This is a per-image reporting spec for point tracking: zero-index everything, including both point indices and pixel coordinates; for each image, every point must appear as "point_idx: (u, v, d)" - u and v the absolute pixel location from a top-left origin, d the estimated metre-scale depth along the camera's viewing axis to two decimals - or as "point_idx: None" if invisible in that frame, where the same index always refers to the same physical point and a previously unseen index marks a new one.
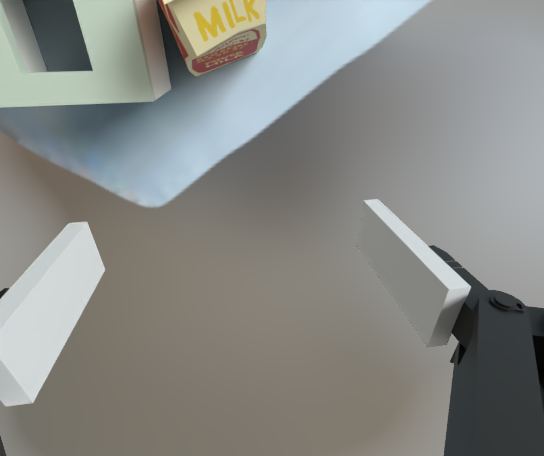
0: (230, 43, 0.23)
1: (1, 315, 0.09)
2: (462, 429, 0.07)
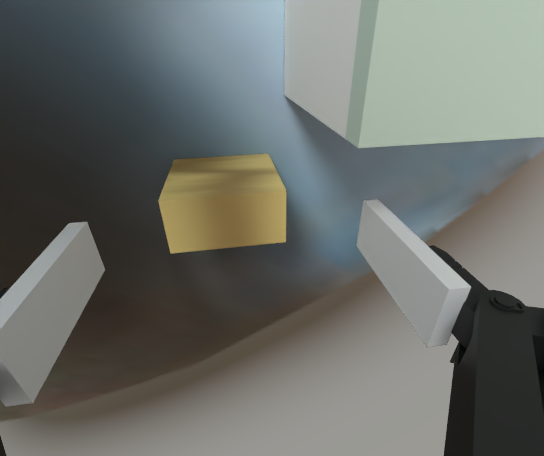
0: None
1: (1, 315, 0.09)
2: (462, 429, 0.07)
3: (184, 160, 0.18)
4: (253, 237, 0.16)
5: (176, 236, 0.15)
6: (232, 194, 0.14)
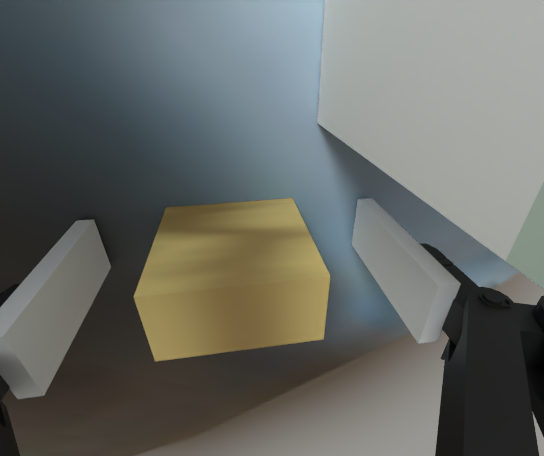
0: None
1: (14, 309, 0.09)
2: (453, 425, 0.07)
3: (179, 209, 0.14)
4: (277, 336, 0.11)
5: (163, 340, 0.10)
6: (249, 283, 0.09)
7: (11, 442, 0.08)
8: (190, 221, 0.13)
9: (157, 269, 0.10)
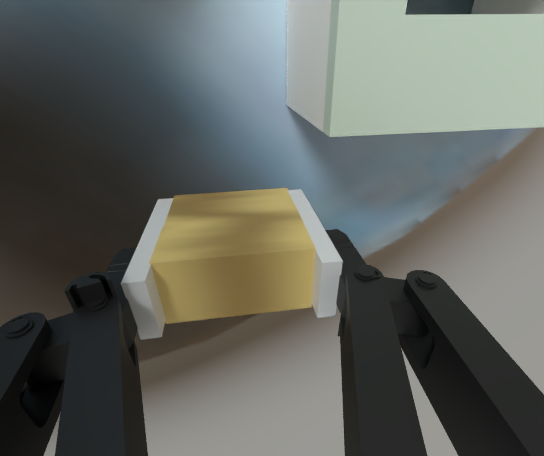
0: None
1: (142, 263, 0.11)
2: (351, 401, 0.07)
3: (186, 197, 0.15)
4: (271, 303, 0.12)
5: (173, 304, 0.12)
6: (246, 254, 0.11)
7: (137, 380, 0.09)
8: (196, 206, 0.14)
9: (168, 243, 0.12)
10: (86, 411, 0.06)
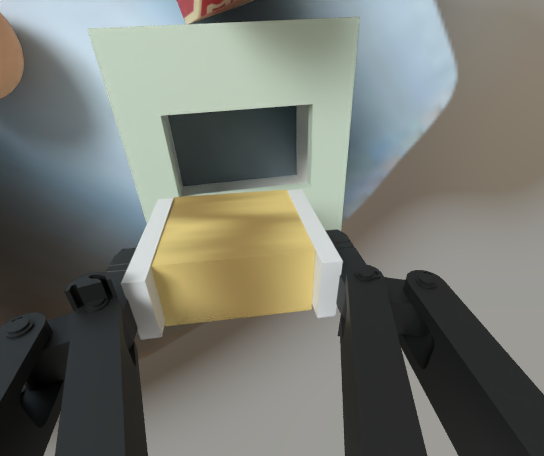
0: None
1: (142, 263, 0.11)
2: (351, 401, 0.07)
3: (186, 199, 0.15)
4: (271, 305, 0.12)
5: (172, 307, 0.12)
6: (246, 256, 0.11)
7: (137, 380, 0.09)
8: (195, 208, 0.14)
9: (168, 246, 0.12)
10: (86, 411, 0.06)
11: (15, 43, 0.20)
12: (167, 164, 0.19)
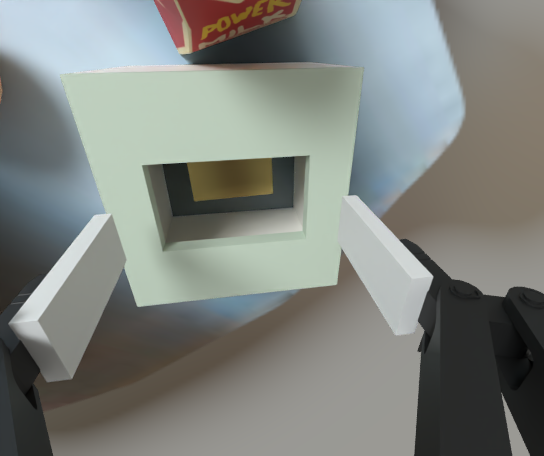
0: None
1: (45, 296, 0.09)
2: (430, 417, 0.07)
3: None
4: (250, 189, 0.23)
5: (198, 188, 0.22)
6: None
7: (41, 424, 0.08)
8: None
9: None
10: None
11: None
12: (149, 214, 0.17)
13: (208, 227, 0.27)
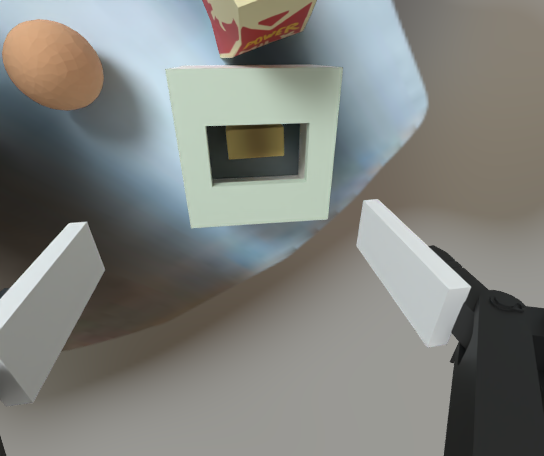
0: None
1: (1, 315, 0.09)
2: (462, 429, 0.07)
3: None
4: (268, 152, 0.32)
5: (232, 150, 0.31)
6: (259, 128, 0.31)
7: None
8: None
9: (230, 128, 0.31)
10: None
11: (101, 69, 0.29)
12: (206, 159, 0.27)
13: None
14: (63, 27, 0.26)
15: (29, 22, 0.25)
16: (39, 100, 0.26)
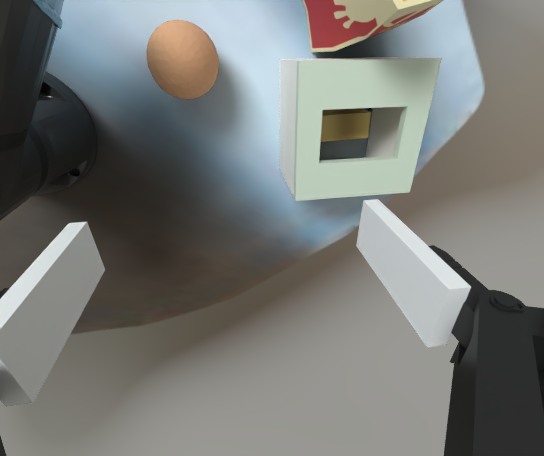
0: None
1: (1, 315, 0.09)
2: (462, 429, 0.07)
3: None
4: (355, 134, 0.36)
5: (325, 133, 0.36)
6: (349, 113, 0.35)
7: None
8: None
9: (322, 113, 0.36)
10: None
11: (218, 62, 0.33)
12: (318, 139, 0.31)
13: None
14: (197, 26, 0.30)
15: (173, 22, 0.29)
16: (175, 89, 0.30)
